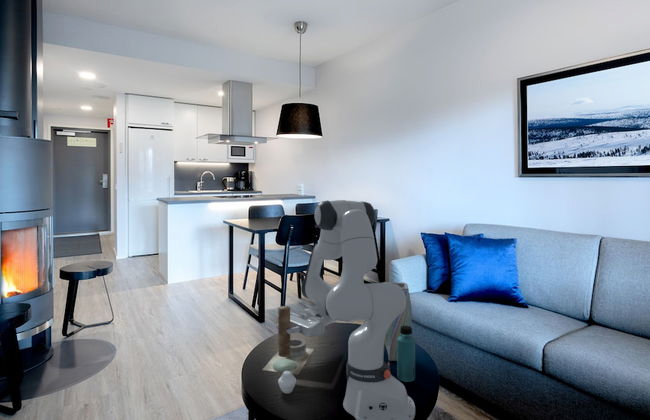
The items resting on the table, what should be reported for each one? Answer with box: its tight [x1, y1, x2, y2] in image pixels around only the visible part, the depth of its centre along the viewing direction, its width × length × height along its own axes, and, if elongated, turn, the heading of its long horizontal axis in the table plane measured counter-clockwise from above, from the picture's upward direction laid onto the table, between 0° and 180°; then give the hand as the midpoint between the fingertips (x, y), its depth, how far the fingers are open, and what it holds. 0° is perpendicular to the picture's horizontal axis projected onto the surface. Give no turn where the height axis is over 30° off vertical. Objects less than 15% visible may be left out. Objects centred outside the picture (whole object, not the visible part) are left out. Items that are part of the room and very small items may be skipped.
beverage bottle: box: [396, 326, 416, 383], centre depth 134 cm, size 6×7×20 cm
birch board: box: [262, 337, 315, 375], centre depth 149 cm, size 14×22×6 cm, turn 166°
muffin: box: [277, 371, 297, 394], centre depth 128 cm, size 6×6×7 cm
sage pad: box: [273, 359, 296, 373], centre depth 143 cm, size 9×9×1 cm
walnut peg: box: [277, 305, 291, 357], centre depth 142 cm, size 4×4×18 cm
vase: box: [382, 281, 413, 362], centre depth 152 cm, size 14×14×30 cm
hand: (282, 329), depth 142 cm, fingers closed on walnut peg, 4 cm apart
